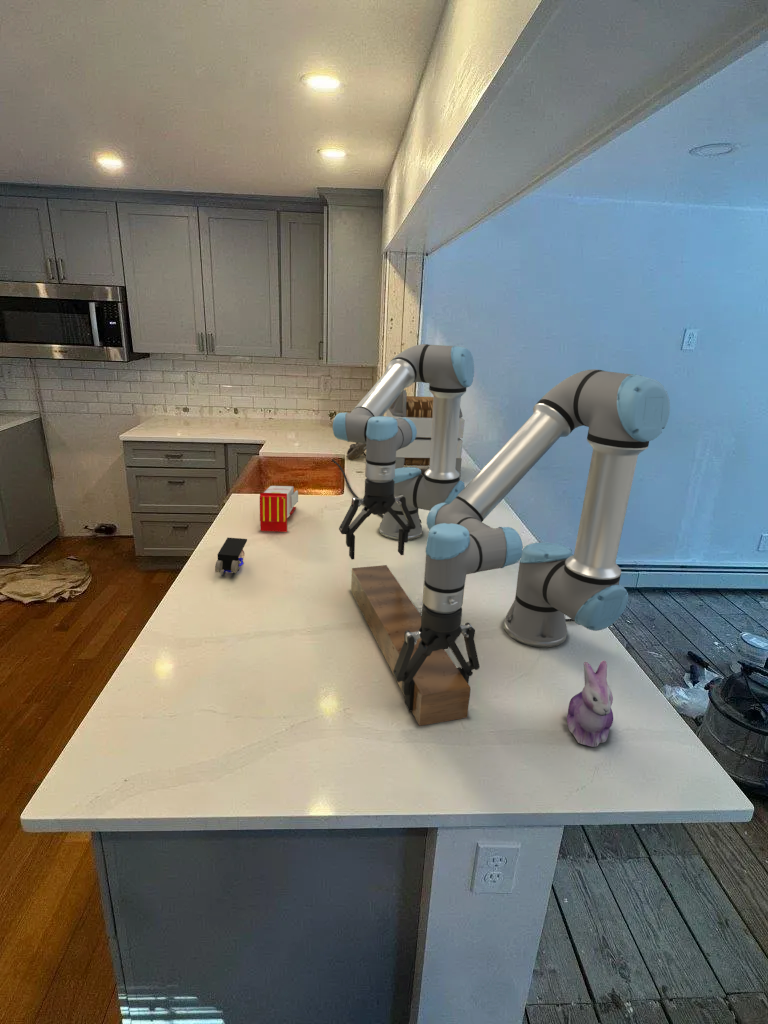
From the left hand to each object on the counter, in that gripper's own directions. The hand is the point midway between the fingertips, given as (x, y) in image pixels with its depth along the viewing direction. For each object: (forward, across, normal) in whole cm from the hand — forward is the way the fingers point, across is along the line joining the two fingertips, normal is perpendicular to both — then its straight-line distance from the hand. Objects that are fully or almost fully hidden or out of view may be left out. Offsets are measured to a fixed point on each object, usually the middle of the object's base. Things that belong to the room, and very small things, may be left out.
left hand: (376, 555), depth 151 cm
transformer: (+12, +56, +116) cm, 129 cm away
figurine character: (+13, -36, +26) cm, 46 cm away
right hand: (+12, -1, -45) cm, 47 cm away
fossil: (+12, +35, +153) cm, 157 cm away
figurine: (+13, +26, -60) cm, 66 cm away
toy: (+13, -18, +66) cm, 70 cm away
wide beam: (+13, 0, -23) cm, 26 cm away
